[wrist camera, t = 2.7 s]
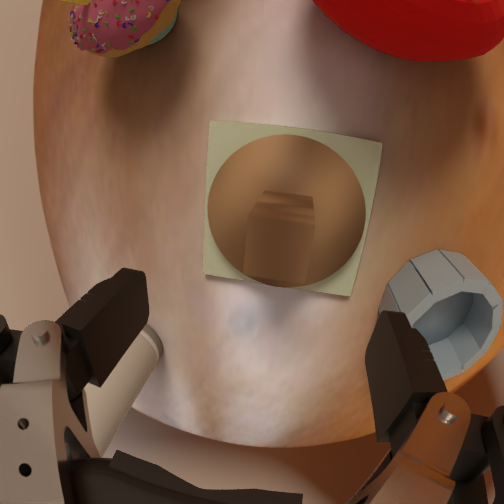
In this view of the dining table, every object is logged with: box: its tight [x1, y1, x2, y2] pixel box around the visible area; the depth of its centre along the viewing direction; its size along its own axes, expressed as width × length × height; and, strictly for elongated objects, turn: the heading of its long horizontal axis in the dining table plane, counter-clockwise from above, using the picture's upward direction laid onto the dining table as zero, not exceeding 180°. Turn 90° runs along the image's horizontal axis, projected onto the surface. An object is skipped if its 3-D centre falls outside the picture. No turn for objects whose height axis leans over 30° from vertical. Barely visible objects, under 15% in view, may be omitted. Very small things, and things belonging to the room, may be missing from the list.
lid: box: [207, 134, 366, 287], centre depth 18 cm, size 11×11×7 cm
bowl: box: [378, 249, 503, 381], centre depth 20 cm, size 10×10×5 cm
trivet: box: [203, 121, 383, 296], centre depth 21 cm, size 12×12×1 cm
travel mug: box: [84, 324, 163, 458], centre depth 20 cm, size 6×7×20 cm
